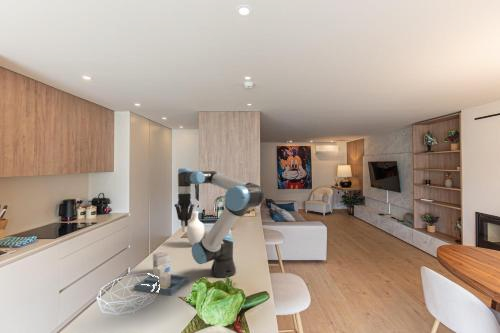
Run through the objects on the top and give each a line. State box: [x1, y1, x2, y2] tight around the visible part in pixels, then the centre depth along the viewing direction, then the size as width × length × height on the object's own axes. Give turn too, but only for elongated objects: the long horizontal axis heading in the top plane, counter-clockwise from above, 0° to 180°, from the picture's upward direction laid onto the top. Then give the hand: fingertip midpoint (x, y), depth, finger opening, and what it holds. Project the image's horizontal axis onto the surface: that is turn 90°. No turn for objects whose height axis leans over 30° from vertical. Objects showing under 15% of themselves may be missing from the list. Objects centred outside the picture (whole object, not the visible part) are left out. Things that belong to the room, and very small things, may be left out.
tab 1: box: [154, 265, 164, 278], centre depth 138 cm, size 4×4×7 cm
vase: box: [185, 210, 205, 247], centre depth 202 cm, size 14×14×28 cm
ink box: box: [152, 250, 171, 274], centre depth 150 cm, size 9×5×12 cm, turn 141°
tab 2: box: [159, 272, 171, 288], centre depth 128 cm, size 4×4×7 cm
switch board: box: [133, 273, 189, 296], centre depth 133 cm, size 22×16×3 cm
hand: (184, 231), depth 152 cm, fingers closed
